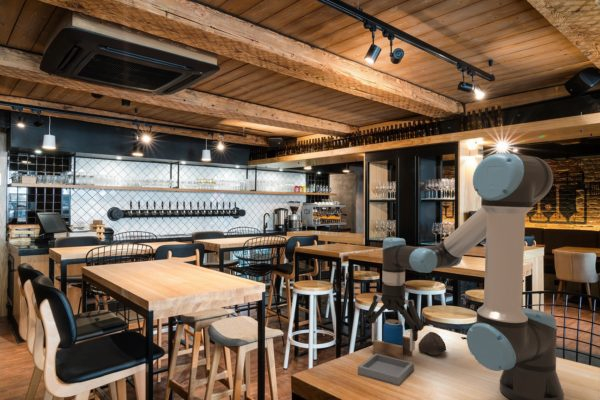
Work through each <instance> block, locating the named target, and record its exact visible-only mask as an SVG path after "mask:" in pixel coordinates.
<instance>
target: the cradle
mask: <svg viewBox="0 0 600 400" xmlns="http://www.w3.org/2000/svg"><path fill="white" fill-rule="evenodd" d="M375 353H376V354H380V355H384V356H388V357H393V358H397V359H401V360H404V356H407V357H413V351H410V336H404V335H403V346H400V345H396V344H391V343H387V342H383V341H381V340H378V339H377V340H373V342H372V356H373V355H374V354H375Z"/></svg>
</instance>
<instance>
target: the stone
mask: <svg viewBox="0 0 600 400" xmlns="http://www.w3.org/2000/svg"><path fill="white" fill-rule="evenodd" d="M417 347H418V350H419V352H420V353H426V354H429V355H432V356H438V355H439V354H442V353H444V352H445V351H447V345H446V343H445V341H444V339H443V338H442V336H440V334H438V333H437V332H434V331H429V332H427V333H426V334H425V335H424V336H423V337H422V338H421V339H420V341H419V342H418V345H417Z"/></svg>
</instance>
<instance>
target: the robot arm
mask: <svg viewBox="0 0 600 400" xmlns="http://www.w3.org/2000/svg"><path fill="white" fill-rule="evenodd" d="M553 183H554V174H553V170H552V168H551V167H550V165H549V164H548V163H547V162H546V161H545V160H543V159H541V158H539V157H537V156H532V155H523V154H516V153H513V152H511V153H510V152H508V153H507V152H504V153H503V152H502V153H500V152H499V153H494V154H491V155H488V156H486V157H485V158H483V159H482V160H481V162H480V163H478V164H477V166H476V168H475V169H474V172H473V175H472V186H473V189H474V191H475V192H476V194H477V195H478V196H479V197H480V198H481V199H480V204H481V205H480V206H481V207H480V208H479V209H477V210H476V211H475V212H474V213H473V214H472V215H471V216H470V217H468V218H467V219H466V220H465V221H463V223H462V224H460V225H459V226H458V227H457V228H456V229H454V231H453V232H452V233H450V234H449V235H448V236H447V237H445V239H444V240H442V241H441V242H440V243H439V244H437V245H425V246H424V245H423V246H411V245H407V244H406V240H405V238H402V237H401V238H400V237H386V238H384V239H383V240H382V241H383V242H382V249H381V251H382V278H381V280H382V285H381V286H382V287H381V291H382V292H381V293H382V295H380V294H379V293H377V294H375V295H373V296H372V302H371V304H370V306H369V307H368V310H367V312H366V314H365V315H364V320H366V321H368V322H369V331H370V332H371V343H373V340H378V321H376V320H377V319H378V318H379V317H380V316H381V315H382V314H383V313H384V312H385V311H386V310H387V311H389V312H390V311H391V312H398V313H399V315H401V316H402V318H403V319H404V320H405V322H406V324H407V325H408V326H409V328H410V329H411V330H410V331H409V338H410V351H412V352H413V351H415V349H416V348H415V347H416V342H417V341H418V339H419V337H418V336H419V332H420V331H422V330H424V325H423V322H422V320H421V317H420V315H419V313H418V311H417V309H416V308H417V307H416V305H415V300H414V299H406V298H405V296H406V291H405V290H406V285H405V283H406V270H410V271H415V272H418V273H424V274H425V273H426V274H427V273H432V272H433V271H434V270H436V269H444V268H445V269H448V268H452V267H453V268H454V267H457V266H459V265H460V263H461V261H462V259H463V257H464V255H465V254H467V253H468V252H470V250H472V249H474V248H475V247H476V246H477V245H478V244H479V243H481V242H482V241H484V240H485V239H486V240H485V259H484V260H485V261H484V262H485V263H484V284H483V285H484V286H483V287H484V288H483V304H482V306H480V307H478V309H476V321H475V322H476V323H474V324H473V325H472V326H471V327H469V329H468V330H467V333H466V337H467V339H466V344H467V347H468V349H469V350H468V351H469V352H470V354H471V355H472V356H473V357H474V360H476V361H477V363H478V364H480V365H481V366H482V367H484V368H486V369H488V370H490V371H495V372H501V371H502V373H501V376H500V378H499V390H500V392H501V394H502V395H503V396H504V397H506V398H508V399H510V400H565V397H564V394H565V393H564V390H563V388H562V384H561V381H560V379H559V376H558V373H557V331H558V327H557V320H556V318H555V316H554V315H553V314H551V313H548V312H545V311H541V310H538V309H532V308H528V307H527V308H526V307H522V305H523V303H522V301H523V300H522V299H523V277H524V276H523V274H524V256H525V255H524V254H525V253H524V251H525V233H526V232H525V230H526V215H527V214H528V213H530V211H532V210H533V208H534V207H533V206H534V205H536V204H537V203H538V202H539V201H541V200H543V198H545V196H546V195H547V194H548V193H549V192H550V190H551V188H552V186H553ZM380 301H381V302H382V306H380V308H379V309H378V310H377V311H376V312H375V313H374V311H375V310H376V307H377V305H378V304H379V302H380ZM405 305H406V306H407V307H408V309H409V312H410V313H408V311H407V308H406V306H405ZM410 314H411V315H410Z"/></svg>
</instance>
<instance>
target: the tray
mask: <svg viewBox="0 0 600 400" xmlns="http://www.w3.org/2000/svg"><path fill="white" fill-rule="evenodd" d="M414 371H415V362H412V361H408V360H404V359H403V360H401V359H397V358H393V357H388V356H384V355H380V354H376V353H375V354H374V355H373V354H372V355H371V356H370V357H369V358H367V359H366V360H364V361H363V362H362V363H360V364H359V365H358V366H357V376H361V377H364V378H368V379H372V380H375V381H379V382H383V383H386V384H390V385H394V386H396V387H397V386H398V387H399V386H400V385H402V383H403V382H404V381H406V379H408V377H409V376H410V375H411V374H412V373H413V372H414Z"/></svg>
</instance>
